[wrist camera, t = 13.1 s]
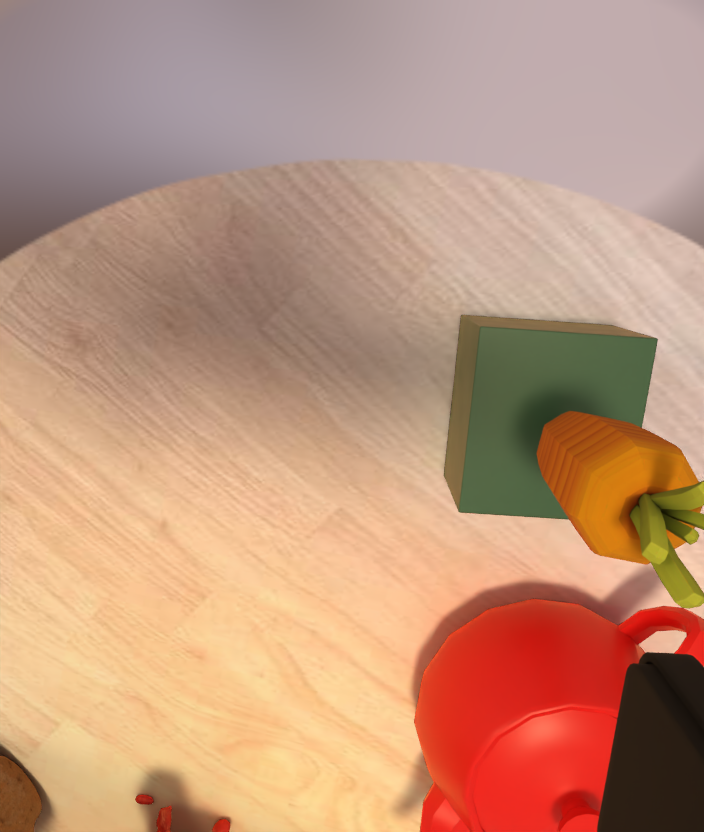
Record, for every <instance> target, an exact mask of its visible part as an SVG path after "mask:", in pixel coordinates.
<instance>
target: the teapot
mask: <svg viewBox="0 0 704 832" xmlns="http://www.w3.org/2000/svg"><path fill="white" fill-rule="evenodd" d="M668 630H678V631H682V632H687V637H686V638H685V640H684V641H683V643H682V644H681V646H680V647H679V649H678V650H677V651H676V652H675V653H674V654H689V655H692V656H694V657H695V658H696V659H697V660H698V661H699V662H700V663H701V664H702V666H704V619H702V618H701V617H699V616H698V615H696V614H694V613H693V612H691V611H688V610H686V609H684V608H678V607H669V606H661V607H655V608H650V609H645V610H640V611H638V612H637V613H635V614H634V615H633V616H631V617H630V618H628V619H627V620H626V621H624V622H623V623H621V624H620V625H619V626H618V625H616V624H614V623H612V622H610V621H609V620H607V619H605V618H603V617H601V616H600V615H598V614H596V613H594V612H592V611H590V610H589V609H587V608H585V607H583V606H581V605H579V604H574V603H565V602H557V601H549V600H541V599H530V600H525V601H521V602H517V603H513V604H508V605H504V606H500V607H495V608H491V609H488V610H486V611H485V612H483V613H482V614H480V615H479V616H477V617H476V618H474V619H473V620H471V621H470V622H468V623H467V624H465V625H464V626H462V627H461V628H459V629H458V630H456V631H455V632H453V633H452V634H450V635H449V636H448V637H447V639H446V640H445V642H444V643H443V645H442V646H441V647H440V649H439V650H438V652H437V653H436V655H435V656H434V658H433V659H432V660H431V662H430V663H429V665H428V666H427V668H426V669H425V670H424V673H423V677H422V681H421V686H420V692H419V697H418V703H417V708H416V714H415V719H414V723H415V727H416V730H417V734H418V738H419V741H420V745H421V748H422V752H423V755H424V759H425V762H426V765H427V768H428V771H429V773H430V775H431V777H432V779H433V781H434V783H433V785H432V786H431V788H430V790H429V792H428V793H427V795H426V797H425V799H424V801H423V809H422V817H421V826H420V832H597V825H598V820H599V814H600V809H601V803H602V798H603V793H604V787H605V782H606V777H607V771H608V766H609V761H610V755H611V750H612V745H613V739H614V734H615V728H616V723H617V718H618V712H619V707H620V702H621V696H622V691H623V686H624V680H625V675H626V671H627V668H628V667H629V665H630V664H632V663H639V660H640V658H641V657H642V655H643V654H645V652H644V651H643V649H642V648H641V647H640V646H639V645H638V644H639V643H641V642H642V641H644V640H645V639H646V638H648V637H649V636H651V635H652V634H653V633H655V632H656V631H668Z"/></svg>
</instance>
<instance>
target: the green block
mask: <svg viewBox="0 0 704 832" xmlns="http://www.w3.org/2000/svg"><path fill="white" fill-rule="evenodd" d="M657 341H658V339H657V338H654V337H651V336H647V335H644V334H640V333H637V332H633V331H630V330H627V329H623V328H620V327H616V326H613V325H602V324H587V323H573V322H558V321H544V320H529V319H515V318H500V317H486V316H471V315H461V321H460V330H459V339H458V349H457V358H456V367H455V376H454V386H453V395H452V404H451V414H450V423H449V432H448V441H447V451H446V460H445V469H444V477H445V479H446V482H447V484H448V487H449V489H450V491H451V494H452V496H453V499H454V501H455V504H456V506H457V509H458V511H459V512H461V513H477V514H493V515H508V516H524V517H539V518H555V519H569V518H568V516H567V515H566V513H565V512H564V510H563V509H562V507H561V506H560V504H559V502H558V501H557V499H556V497H555V496H554V494H553V493H552V491H551V489H550V488H549V486H548V485H547V483H546V481H545V480H544V478H543V477H542V473H541V470H540V467H539V464H538V459H537V450H538V446H539V442H540V438H541V435H542V431H543V428H544V425H545V424H546V423H548V422H550V421H551V420H553V419H554V418H556V417H558V416H559V415H561V414H563V413H566V412H568V411H575V412H582V413H586V414H591V415H596V416H601V417H606V418H611V419H616V420H620V421H624V422H628V423H632V424H634V425H636V426H639V427H641V428H642V423H643V418H644V412H645V407H646V401H647V396H648V390H649V385H650V379H651V374H652V368H653V363H654V357H655V352H656V346H657Z"/></svg>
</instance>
